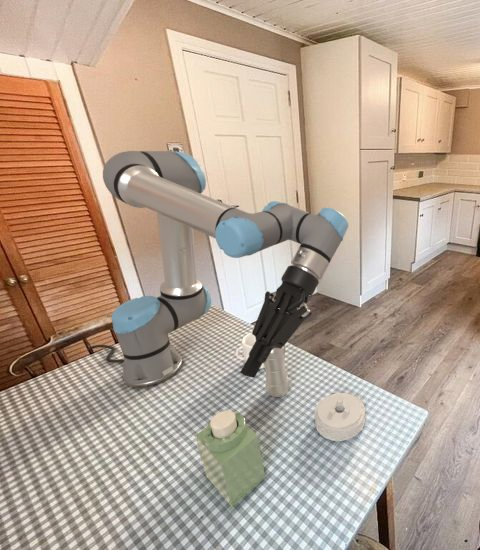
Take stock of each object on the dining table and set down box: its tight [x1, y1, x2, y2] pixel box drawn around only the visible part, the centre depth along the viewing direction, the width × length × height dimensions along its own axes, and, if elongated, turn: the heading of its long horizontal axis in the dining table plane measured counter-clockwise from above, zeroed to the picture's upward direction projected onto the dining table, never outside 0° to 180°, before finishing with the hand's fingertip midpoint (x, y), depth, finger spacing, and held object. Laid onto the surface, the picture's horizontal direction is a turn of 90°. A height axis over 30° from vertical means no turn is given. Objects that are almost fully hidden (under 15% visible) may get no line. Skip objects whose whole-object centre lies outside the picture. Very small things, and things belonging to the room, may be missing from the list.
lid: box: [313, 392, 366, 442], centre depth 76 cm, size 13×13×5 cm
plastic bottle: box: [264, 344, 291, 398], centre depth 83 cm, size 6×7×20 cm
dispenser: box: [194, 412, 266, 508], centre depth 61 cm, size 10×8×14 cm
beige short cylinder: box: [209, 410, 237, 439], centre depth 58 cm, size 4×4×2 cm
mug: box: [234, 331, 265, 370], centre depth 97 cm, size 12×10×9 cm
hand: (247, 375), depth 60 cm, fingers closed
